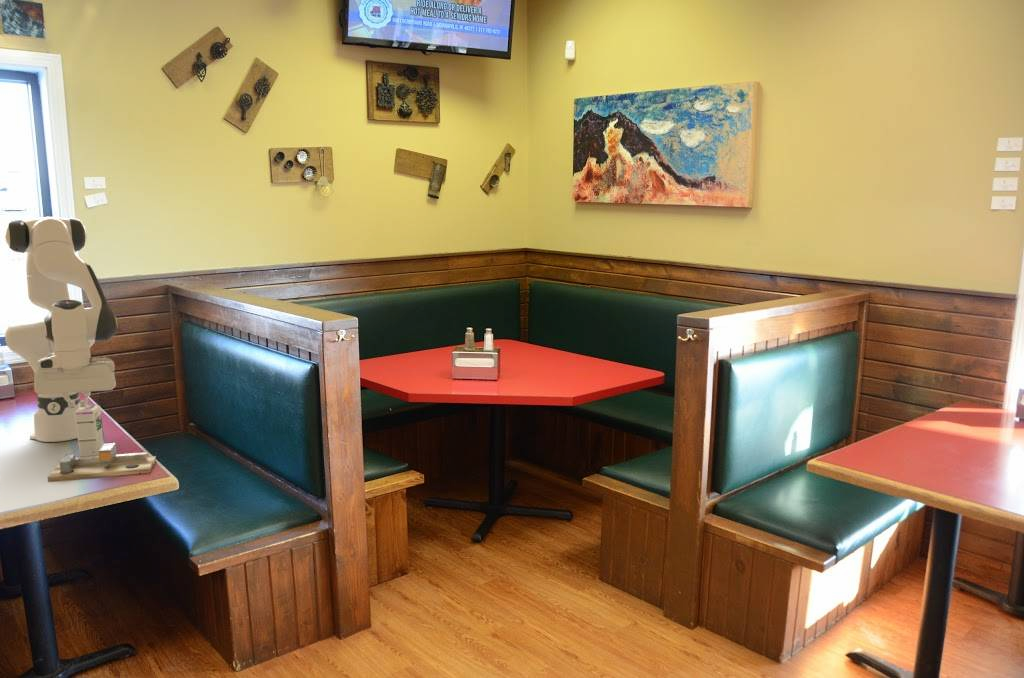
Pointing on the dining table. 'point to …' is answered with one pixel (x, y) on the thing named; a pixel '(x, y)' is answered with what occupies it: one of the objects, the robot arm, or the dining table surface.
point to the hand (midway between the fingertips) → (78, 407)
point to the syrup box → (89, 430)
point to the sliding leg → (107, 453)
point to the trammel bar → (97, 460)
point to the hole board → (104, 470)
